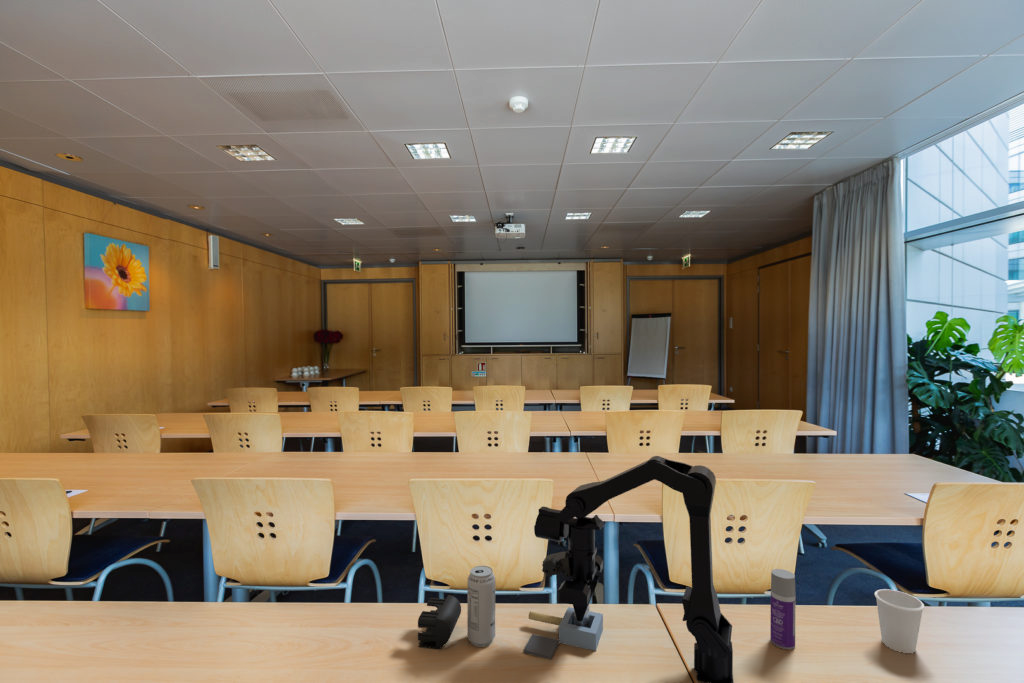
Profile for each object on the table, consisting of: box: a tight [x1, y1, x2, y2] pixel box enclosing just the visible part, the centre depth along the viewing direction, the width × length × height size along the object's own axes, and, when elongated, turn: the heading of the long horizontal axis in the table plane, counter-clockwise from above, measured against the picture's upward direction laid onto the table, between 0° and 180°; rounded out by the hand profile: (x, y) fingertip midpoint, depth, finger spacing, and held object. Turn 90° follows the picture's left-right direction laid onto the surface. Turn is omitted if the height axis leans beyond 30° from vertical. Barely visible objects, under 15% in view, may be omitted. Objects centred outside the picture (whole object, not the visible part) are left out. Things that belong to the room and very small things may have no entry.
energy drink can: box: [466, 565, 496, 648], centre depth 107 cm, size 6×6×15 cm
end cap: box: [417, 594, 462, 650], centre depth 108 cm, size 10×7×7 cm
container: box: [770, 568, 797, 651], centre depth 106 cm, size 5×5×15 cm
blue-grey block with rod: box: [528, 606, 604, 652], centre depth 110 cm, size 16×8×4 cm, turn 69°
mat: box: [522, 633, 560, 660], centre depth 104 cm, size 6×6×1 cm
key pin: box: [574, 604, 590, 628], centre depth 108 cm, size 3×3×9 cm
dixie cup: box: [874, 588, 925, 654], centre depth 105 cm, size 8×8×10 cm
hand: (581, 616), depth 108 cm, fingers closed on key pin, 3 cm apart
